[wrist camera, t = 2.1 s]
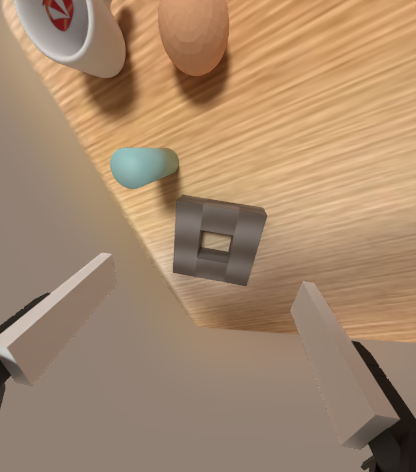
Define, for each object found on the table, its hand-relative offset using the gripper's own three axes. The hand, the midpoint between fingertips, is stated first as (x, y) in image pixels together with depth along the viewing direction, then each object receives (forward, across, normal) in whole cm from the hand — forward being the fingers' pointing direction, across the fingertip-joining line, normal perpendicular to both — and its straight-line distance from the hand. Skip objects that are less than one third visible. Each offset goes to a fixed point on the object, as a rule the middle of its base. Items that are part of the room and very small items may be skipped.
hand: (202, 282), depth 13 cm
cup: (+21, -17, +20) cm, 34 cm away
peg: (+21, -9, +6) cm, 23 cm away
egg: (+21, -5, +20) cm, 29 cm away
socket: (+21, 0, -7) cm, 22 cm away
